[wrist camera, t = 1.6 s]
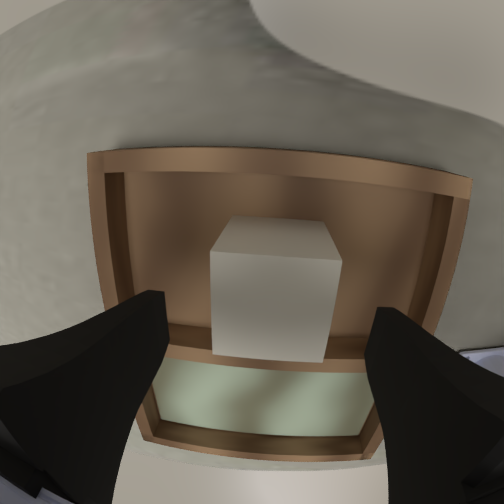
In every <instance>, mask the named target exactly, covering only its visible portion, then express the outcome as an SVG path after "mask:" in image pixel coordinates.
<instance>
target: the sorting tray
mask: <svg viewBox="0 0 504 504" xmlns="http://www.w3.org/2000/svg"><path fill="white" fill-rule="evenodd" d="M87 172H88V190H89V204H90V215H91V225H92V234H93V242H94V250H95V257H96V264H97V270H98V276H99V282H100V287H101V293H102V298H103V303H104V308H105V311H106V310H108V309H110V308H112V307H114V306H116V305H118V304H120V303H122V302H124V301H125V300H127V299H129V298H131V297H133V296H135V295H137V294H139V293H141V292H144V291H146V290H156V291H165V302H166V311H167V320H168V328H169V336H170V341H169V344H168V347H167V350H166V353H165V356H164V359H163V362H162V364H161V366H160V368H159V370H158V372H157V374H156V376H155V378H154V380H153V382H152V384H151V386H150V388H149V390H148V392H147V394H146V396H145V398H144V400H143V402H142V404H141V406H140V408H139V410H138V412H137V414H136V416H135V418H136V421H137V424H138V426H139V429H140V432H141V434H142V437H143V439H144V440H145V441H149V442H153V443H157V444H161V445H165V446H170V447H175V448H179V449H184V450H190V451H195V452H201V453H207V454H214V455H221V456H228V457H237V458H246V459H257V460H271V461H294V462H328V461H351V460H364V459H371V457H372V456H373V454H374V453H375V451H376V450H377V448H378V446H379V445H380V443H381V441H382V440H383V438H384V436H383V431H382V427H381V423H380V420H379V416H378V413H377V409H376V406H375V402H374V399H373V395H372V392H371V389H370V385H369V382H368V378H367V372H366V366H365V359H364V352H365V349H366V345H367V342H368V339H369V335H370V332H371V328H372V324H373V321H374V317H375V313H376V310H377V307H394V308H396V309H397V310H399V311H400V312H402V313H403V314H405V315H406V316H408V317H409V318H410V319H412V320H413V321H414V322H416V323H417V324H418V325H420V326H421V327H422V328H423V329H425V330H426V331H427V332H429V333H430V334H431V335H434V332H435V329H436V327H437V324H438V321H439V318H440V316H441V313H442V310H443V307H444V304H445V301H446V298H447V294H448V291H449V288H450V285H451V281H452V278H453V274H454V271H455V267H456V263H457V259H458V255H459V251H460V247H461V243H462V238H463V234H464V229H465V224H466V219H467V213H468V208H469V202H470V196H471V189H472V181H473V179H471V178H468V177H465V176H461V175H457V174H454V173H450V172H446V171H442V170H437V169H432V168H427V167H422V166H417V165H411V164H406V163H400V162H394V161H387V160H381V159H374V158H367V157H360V156H352V155H344V154H335V153H325V152H315V151H304V150H291V149H276V148H258V147H229V146H173V147H145V148H126V149H114V150H106V151H98V152H91V153H87ZM233 215H237V216H253V217H269V218H283V219H297V220H310V221H322V222H324V223H325V225H326V227H327V230H328V232H329V234H330V236H331V238H332V240H333V242H334V244H335V246H336V248H337V250H338V252H339V254H340V257H341V259H342V267H341V273H340V279H339V284H338V290H337V296H336V301H335V306H334V312H333V317H332V322H331V327H330V331H329V336H328V341H327V345H326V350H325V354H324V359H323V363H317V362H294V361H278V360H264V359H252V358H242V357H232V356H223V355H214V354H213V353H212V326H211V288H210V250H211V249H212V247H213V246H214V244H215V242H216V241H217V239H218V238H219V236H220V235H221V233H222V231H223V230H224V228H225V227H226V225H227V223H228V222H229V220H230V219H231V217H232V216H233Z"/></svg>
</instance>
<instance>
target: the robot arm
mask: <svg viewBox="0 0 504 504" xmlns="http://www.w3.org/2000/svg"><path fill="white" fill-rule="evenodd" d="M169 341H170V336H169V328H168V320H167V311H166V302H165V291H156V290H146V291H144V292H141V293H139V294H137V295H135V296H133V297H131V298H129V299H127V300H125V301H124V302H122V303H120V304H118V305H116V306H114V307H112V308H110V309H108V310H106V311H105V312H103V313H100V314H98V315H96V316H94V317H92V318H90V319H88V320H86V321H84V322H82V323H79V324H77V325H75V326H72V327H70V328H67V329H64V330H62V331H59V332H56V333H53V334H50V335H47V336H43V337H39V338H36V339H32V340H28V341H24V342H20V343H14V344H9V345H2V346H0V504H112V499H113V493H114V488H115V483H116V479H117V475H118V471H119V466H120V462H121V459H122V455H123V452H124V449H125V445H126V442H127V439H128V436H129V433H130V430H131V427H132V424H133V421H134V419H135V416H136V414H137V412H138V410H139V408H140V406H141V404H142V402H143V400H144V398H145V396H146V394H147V392H148V390H149V388H150V386H151V384H152V382H153V380H154V378H155V376H156V374H157V372H158V370H159V368H160V366H161V364H162V362H163V359H164V356H165V353H166V350H167V347H168V344H169ZM364 359H365V366H366V372H367V378H368V382H369V385H370V389H371V392H372V395H373V399H374V402H375V406H376V409H377V413H378V416H379V420H380V423H381V427H382V431H383V436H384V441H385V449H386V458H387V468H388V490H389V491H388V492H389V504H504V347H499V348H492V349H483V350H474V351H463V352H460V353H457V352H456V351H454V350H453V349H451V348H450V347H448V346H447V345H445V344H444V343H442V342H441V341H440V340H438V339H437V338H436V337H434V336H433V335H431V334H430V333H429V332H427V331H426V330H425V329H423V328H422V327H421V326H420V325H418V324H417V323H416V322H414V321H413V320H412V319H410V318H409V317H408V316H406V315H405V314H403V313H402V312H400V311H399V310H397V309H396V308H394V307H377V310H376V313H375V317H374V321H373V324H372V328H371V332H370V335H369V339H368V342H367V345H366V349H365V352H364Z"/></svg>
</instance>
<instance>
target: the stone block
mask: <svg viewBox="0 0 504 504" xmlns="http://www.w3.org/2000/svg"><path fill="white" fill-rule="evenodd" d="M341 267H342V259H341V257H340V254H339V252H338V250H337V248H336V246H335V244H334V242H333V240H332V238H331V236H330V234H329V232H328V230H327V227H326V225H325V223H324V222H322V221H310V220H297V219H283V218H269V217H253V216H237V215H233V216H232V217H231V219H230V220H229V222H228V223H227V225H226V227H225V228H224V230H223V231H222V233H221V235H220V236H219V238H218V239H217V241H216V242H215V244H214V246H213V247H212V249H211V250H210V288H211V326H212V353H213V354H214V355H223V356H232V357H242V358H252V359H264V360H278V361H294V362H317V363H323V359H324V354H325V350H326V345H327V341H328V336H329V331H330V327H331V322H332V317H333V312H334V306H335V301H336V296H337V290H338V284H339V279H340V273H341Z"/></svg>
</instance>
